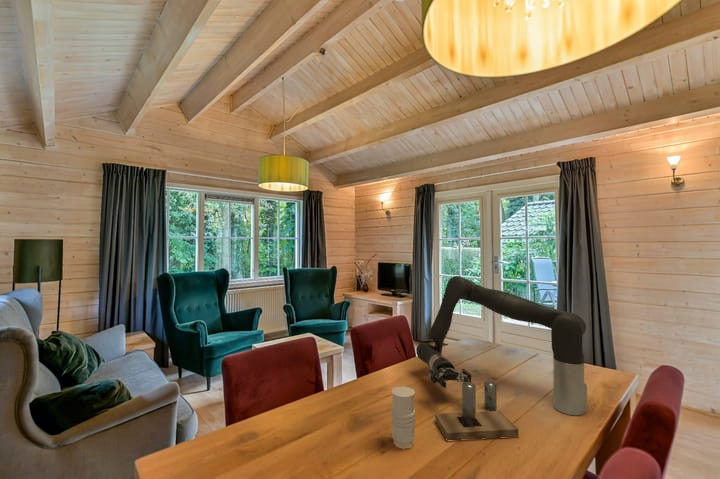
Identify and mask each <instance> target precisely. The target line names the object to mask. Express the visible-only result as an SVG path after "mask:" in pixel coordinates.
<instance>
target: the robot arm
mask: <svg viewBox="0 0 720 479" xmlns="http://www.w3.org/2000/svg"><path fill="white" fill-rule="evenodd" d="M460 300H464V301H469V302H471V303H476V304H479V305H480V306H483V307H485V308H486V309H488V310H490V311H492V312H494V313H495V314H499V315H501V316H503V317H507V318H509V319H511V320H515V321H520V322H525V323H531V324H536V325H541V326H543V327H546V328H548V329H550V330H551V336H550V337H551V338H550V339H551V350H552V356H553V358H552V359H553V360H552V361H553V362H552V365H553V368H552V371H553V373H552V374H553V383H552V385H553V389H552V390H553V395H552V397H553V399H552V403H553V404H552V405H553V408H554V409H555V410H557V411H558V412H560V413H563V414H566V415H568V416H569V415H570V416H583V415H584V414H587V413H588V385H587V384H586V383H585V354H584V352H583V350H584V349H583V336H584V334H585V333H586V331H587V325H586V322H585V321H584V319H583V318H582V317H581V316H580V315H578V314H576V313H574V312H569V311H565V310H561V309H557V308H552V307H549V306H545V305H543V304H540V303H537V302H535V301H532V300H530V299H527V298H525V297H522V296H518V295H516V294H513V293H509V292H508V291H505V290H504V291H503V290H498V289H492V288H487V287H484V286H481V285H479V284H477V283H475V282H472V281H471V280H469V279H467V278H464V277H462V276H459V275H455V276H453V277H451V278H449V280H448V282H447V284H446V286H445V290H444V293H443V296H442V300H441V304H440V307H439V310H438V312H437V313H436V317H435V319H434V321H433V322H432V326H431V327H430V330H429V331H428V334H427V335H428V338H429V339H430V340H431V341H433V342H434V345H432V344H430V343H428V342H423V341H422V342H420V343H419V344H418V345H417V346H416V349H415V350H416V356H417V357H418V359H419V360H421V361H422V362H423V363H425V364H426V365H427V366H429V370H428V378H429V380H430V382H431V383H432V384H438V385H440V386H441V387H442V388H444V389H447V382H446V381H454V382H457V383H463V382H471V383H472V374H471V373H470V372H469V371H468V370H466V368H462V369H461V370H457V369H456V368H455V366H454V365H453V363H452V362H450V360H449V359H448V358H447V357H446V356H444V355H443V353H442V350H443V346H444V342H445V340H446V337H447V335H448V333H449V331H450V329H451V325H452V321H453V315H454V312H455V308H456V306H457V305H458V302H459V301H460Z"/></svg>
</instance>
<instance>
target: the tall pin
mask: <svg viewBox="0 0 720 479" xmlns="http://www.w3.org/2000/svg"><path fill="white" fill-rule="evenodd" d="M476 388H477V387H476V384H475V383H473V382H472V381H471V382H461V413H462V426H463V427H476V412H477V411H476V407H477V406H476V403H477V402H476V391H477V390H476Z"/></svg>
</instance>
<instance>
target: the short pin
mask: <svg viewBox="0 0 720 479" xmlns="http://www.w3.org/2000/svg"><path fill="white" fill-rule="evenodd" d="M483 383H484V384H483V385H484V386H483V387H484V388H483V389H484V391H483V392H484V393H483V394H484V403H483V404H484V407H483V408H484V410H485V411H487V410H489V411H498V410H497V402H498V400H497V397H498V396H497V395H498V394H497V391H498V390H497V389H498V388H497V386H498V385H497V382H495V381H492V380H485V381H484V382H483Z"/></svg>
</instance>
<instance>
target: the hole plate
mask: <svg viewBox="0 0 720 479" xmlns="http://www.w3.org/2000/svg"><path fill="white" fill-rule="evenodd" d="M434 419H435V421H436V422H435V421H434V422H435V423H437V424H436V425H437V427H438V426H439V427H438V429H439V428H440V429H441V430H440V429H439V430H440V432H441V431H442V432H441V434H442V433H443V434H444V435H443V434H442V435H443V437H444V436H445V437H444V439H445V438H446V439H447V440H461V439H482V438H501V437H518V438H519V428H518V427H517V426H516V425H515V424H514V423H513V422H512V421H511V420H510V419H509V418H508V417H507V416H506V415H505V414H504V413H503V412H502V411H501V410H496V411H487V410H485V411H476V426H477V427H463V426H462V412H448V413H446V412H445V413H435V418H434ZM446 439H445V440H446ZM501 439H502V438H501ZM447 440H446V441H447Z"/></svg>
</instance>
